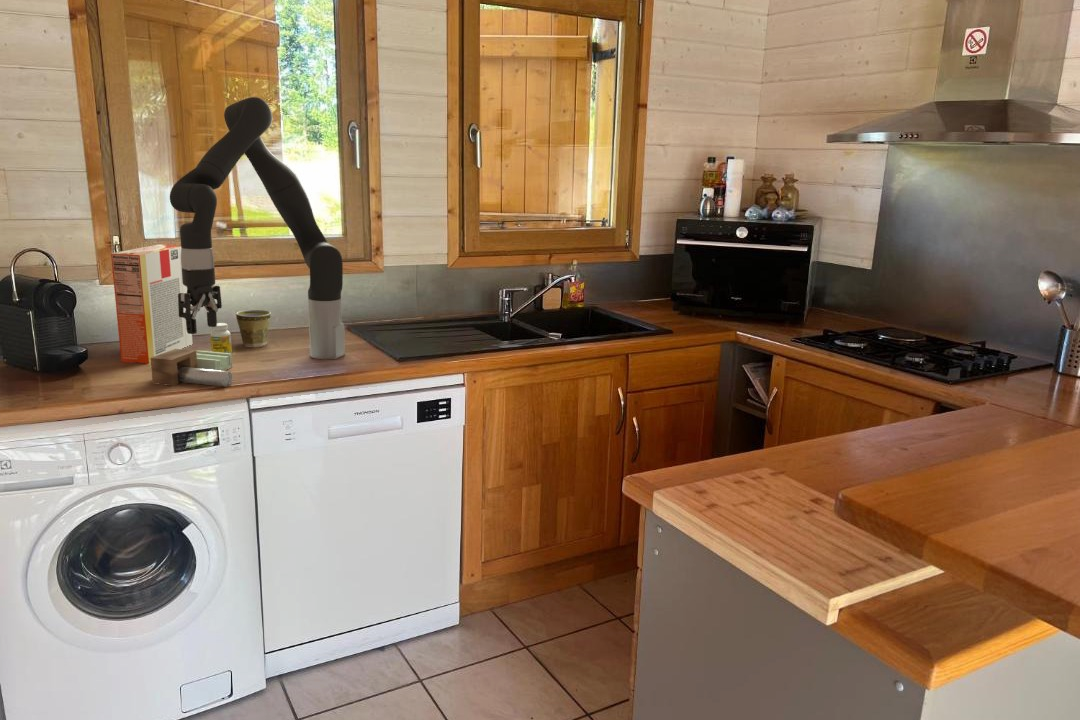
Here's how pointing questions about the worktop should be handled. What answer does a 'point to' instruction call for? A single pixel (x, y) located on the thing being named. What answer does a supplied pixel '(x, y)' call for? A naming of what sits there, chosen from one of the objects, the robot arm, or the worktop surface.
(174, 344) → the pasta box
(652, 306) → the worktop surface
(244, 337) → the ceramic cup
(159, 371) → the brown arch block
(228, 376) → the axle
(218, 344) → the supplement bottle
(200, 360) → the light green ridged block
